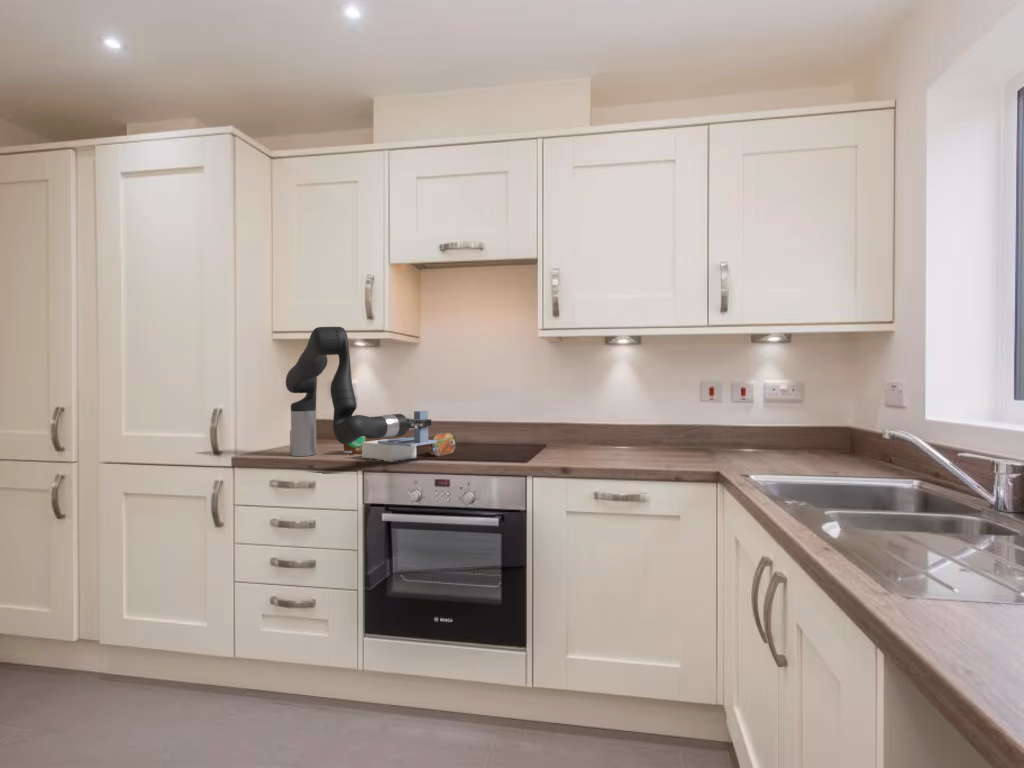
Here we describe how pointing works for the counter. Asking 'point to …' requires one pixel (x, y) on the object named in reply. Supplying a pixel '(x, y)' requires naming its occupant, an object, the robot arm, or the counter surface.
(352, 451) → the food container
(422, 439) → the lid
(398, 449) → the tub
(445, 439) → the tin
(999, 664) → the counter surface
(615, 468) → the counter surface
